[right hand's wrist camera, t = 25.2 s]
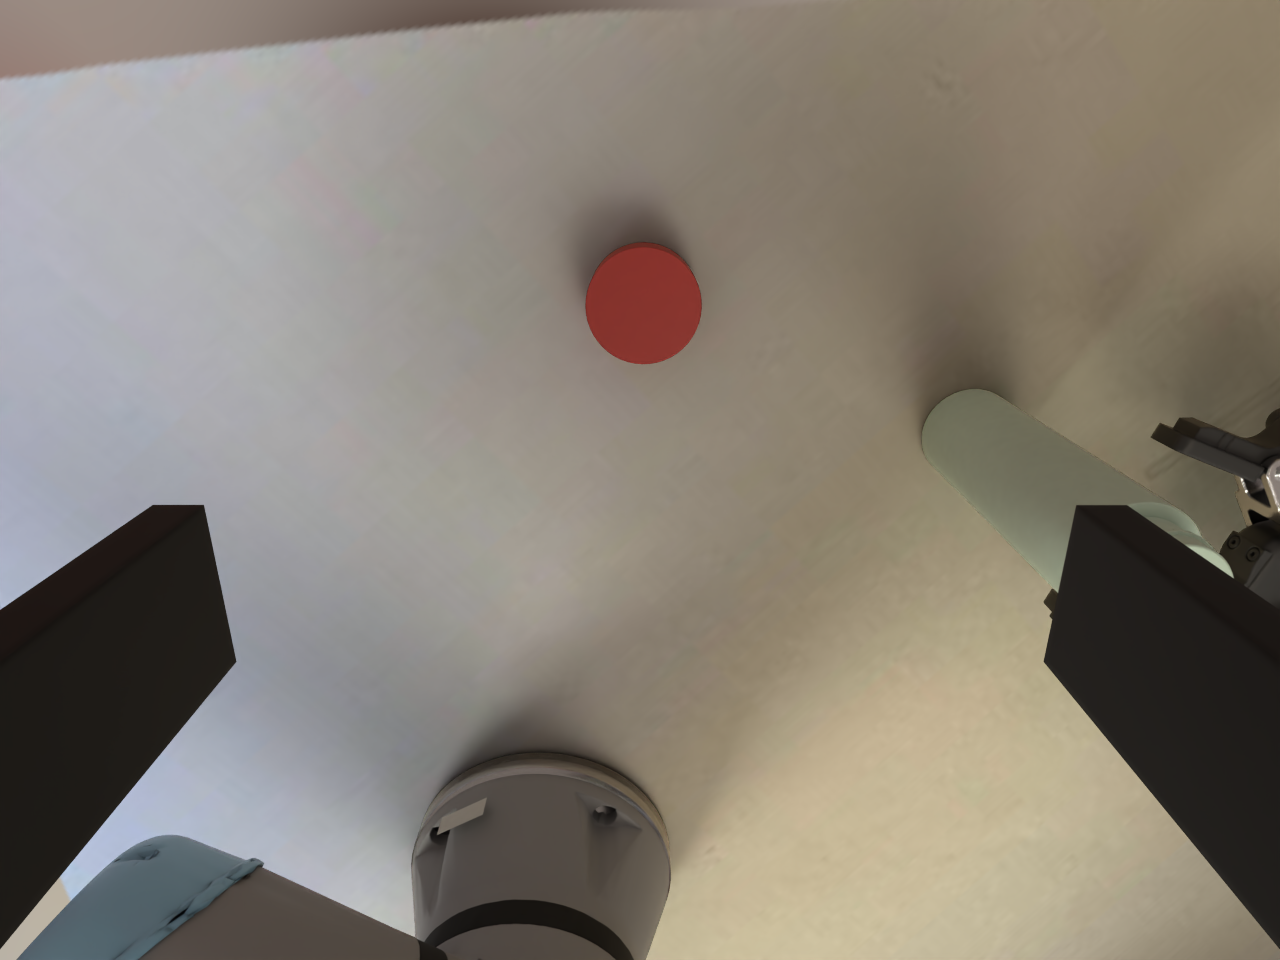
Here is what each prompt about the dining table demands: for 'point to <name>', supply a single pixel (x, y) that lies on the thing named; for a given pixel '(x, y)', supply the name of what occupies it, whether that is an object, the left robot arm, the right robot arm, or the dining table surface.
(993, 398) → the bottle
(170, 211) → the dining table surface
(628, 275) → the lid
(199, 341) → the dining table surface
